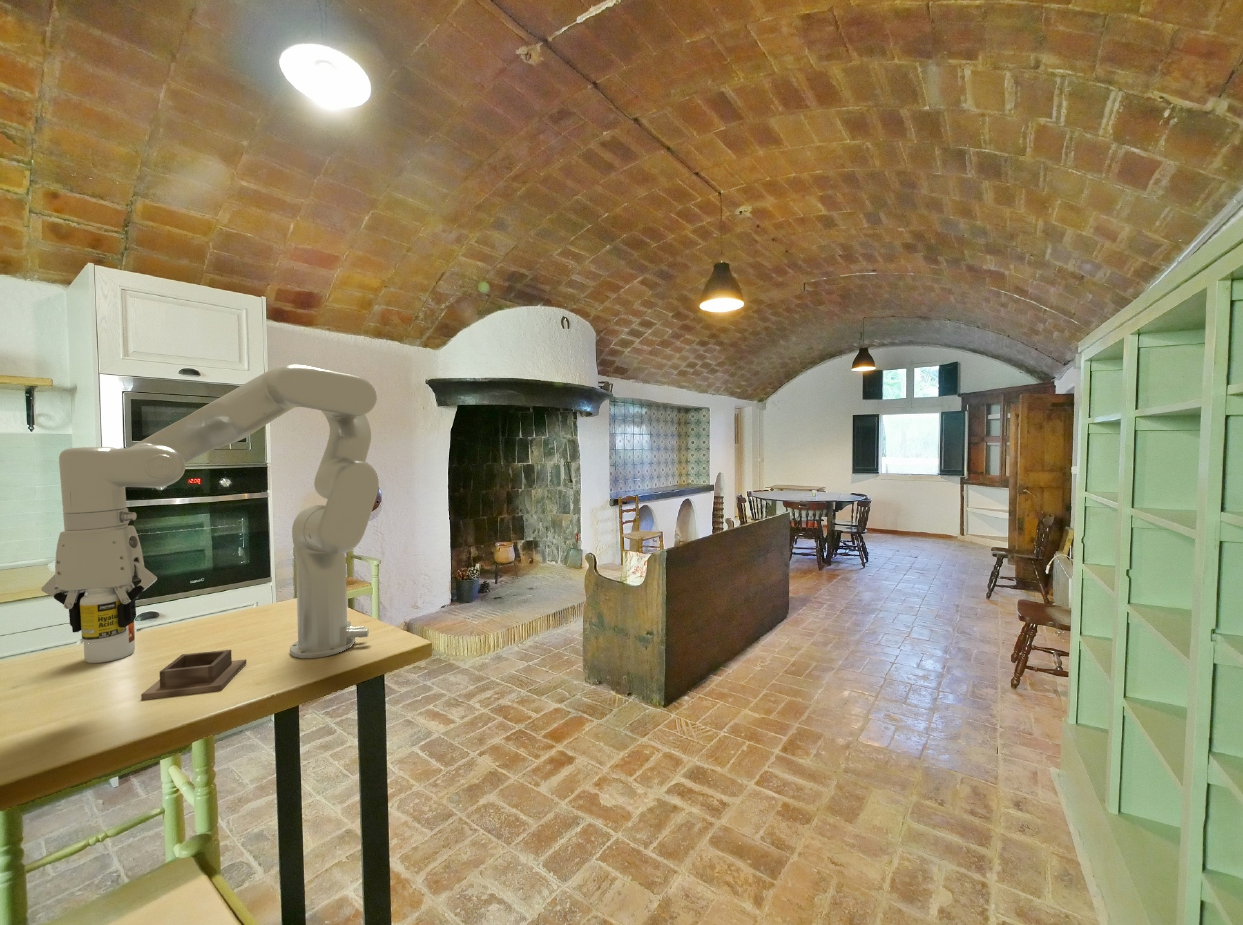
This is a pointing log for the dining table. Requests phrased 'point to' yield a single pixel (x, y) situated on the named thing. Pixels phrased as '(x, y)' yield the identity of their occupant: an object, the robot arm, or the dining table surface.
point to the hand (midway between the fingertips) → (104, 626)
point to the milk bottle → (111, 648)
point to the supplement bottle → (100, 616)
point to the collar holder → (195, 674)
